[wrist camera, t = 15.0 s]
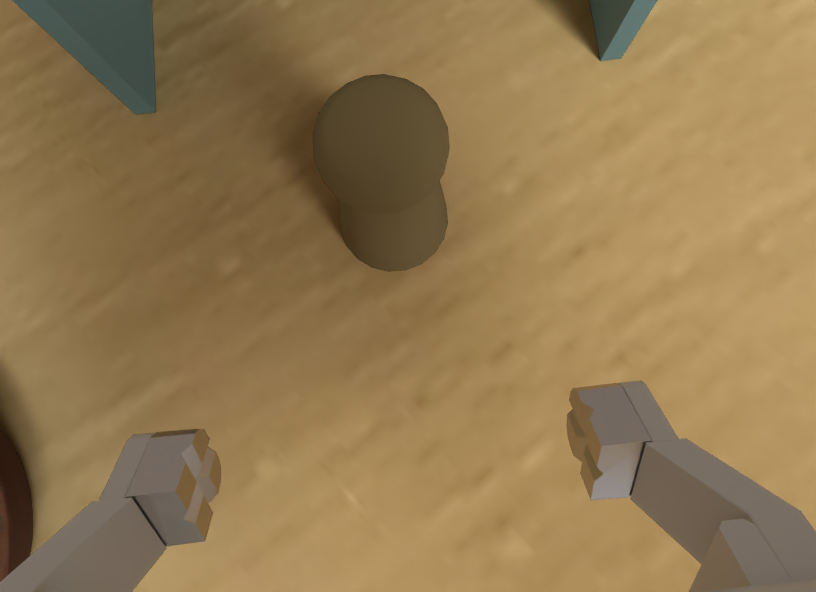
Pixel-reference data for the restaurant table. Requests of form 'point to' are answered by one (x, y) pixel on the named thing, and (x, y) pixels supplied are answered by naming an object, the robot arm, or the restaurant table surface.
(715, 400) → the restaurant table surface
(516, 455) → the restaurant table surface
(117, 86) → the folding screen
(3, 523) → the dish
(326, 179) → the cork
